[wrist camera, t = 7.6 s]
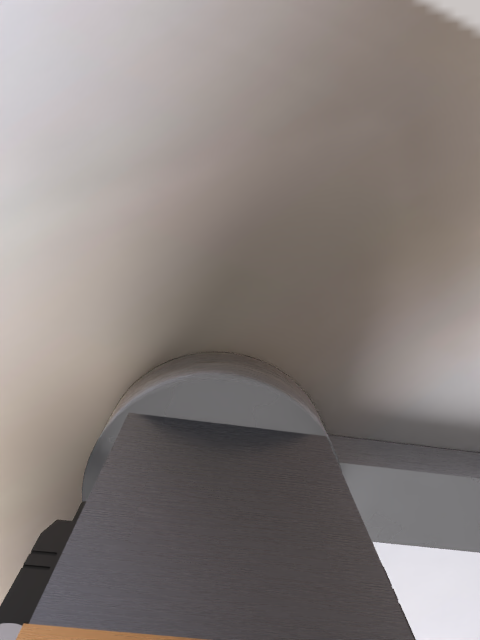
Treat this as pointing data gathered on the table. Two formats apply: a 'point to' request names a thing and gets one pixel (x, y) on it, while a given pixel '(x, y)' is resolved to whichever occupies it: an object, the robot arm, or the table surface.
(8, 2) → the table surface
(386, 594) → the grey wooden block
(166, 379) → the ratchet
